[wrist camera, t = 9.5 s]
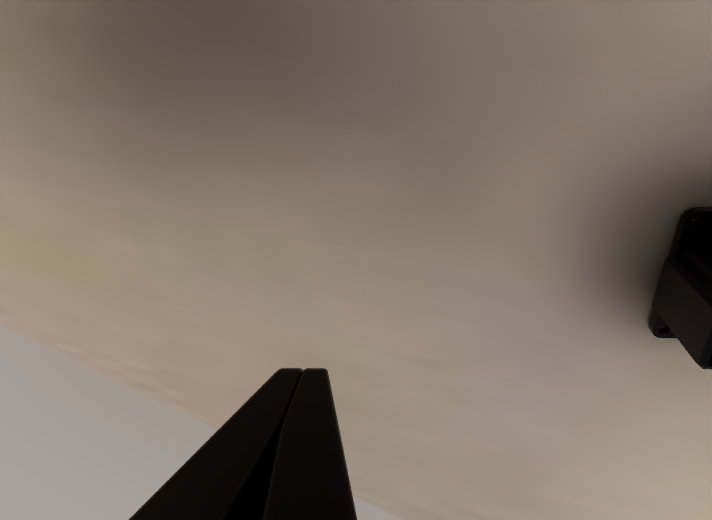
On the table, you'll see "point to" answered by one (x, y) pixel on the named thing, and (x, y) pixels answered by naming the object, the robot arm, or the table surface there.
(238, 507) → the robot arm
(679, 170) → the table surface
